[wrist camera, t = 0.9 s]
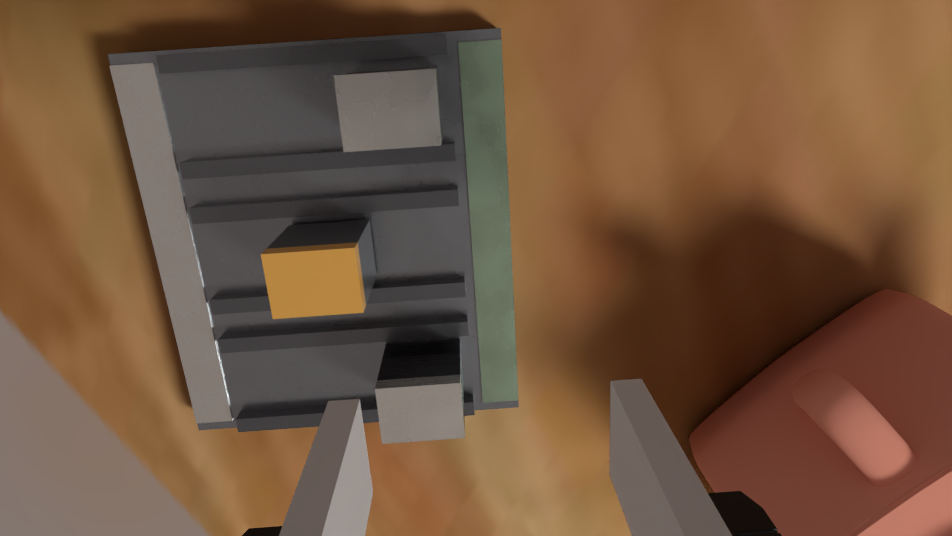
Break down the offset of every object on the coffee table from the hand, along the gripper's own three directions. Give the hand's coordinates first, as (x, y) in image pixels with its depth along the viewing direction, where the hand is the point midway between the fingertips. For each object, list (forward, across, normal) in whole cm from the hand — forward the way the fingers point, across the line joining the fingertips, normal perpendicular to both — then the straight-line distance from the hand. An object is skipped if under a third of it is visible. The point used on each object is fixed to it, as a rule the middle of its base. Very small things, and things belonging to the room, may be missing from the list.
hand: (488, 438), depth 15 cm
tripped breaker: (+17, -7, 0) cm, 18 cm away
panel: (+19, -7, 0) cm, 20 cm away
